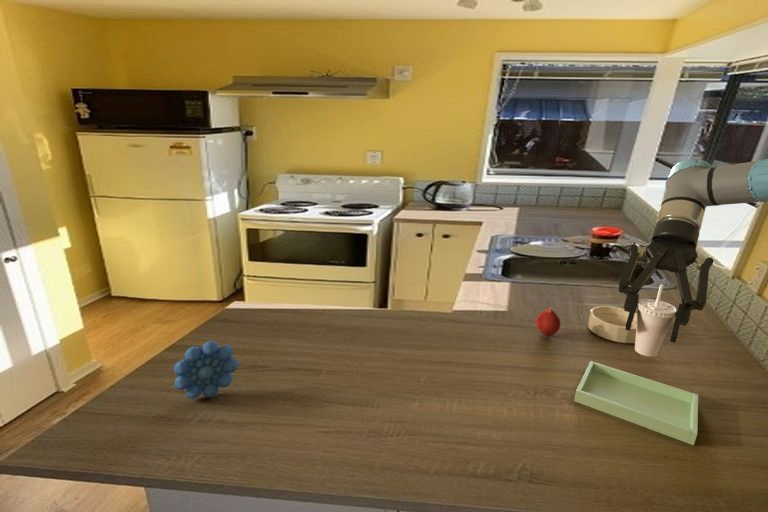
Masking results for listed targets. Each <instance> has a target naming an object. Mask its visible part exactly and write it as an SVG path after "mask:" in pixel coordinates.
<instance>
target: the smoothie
mask: <svg viewBox="0 0 768 512" xmlns="http://www.w3.org/2000/svg"><path fill="white" fill-rule="evenodd" d="M664 287H665V285H664V284H663V283H659V288H658V291H657V294H656V295H657V296H656V298H655V299H652V298H642V299H638V303H637V306H636V310H637V327H636V339H635V343H634V351H635V352H636V353H638V354H639V355H641V356H644V357H648V358H655V357H657V356H658V353H659V351H660V349H661V346H662V345H663V342H664V340H665V337H666V335H667V333H668V331H669V328H670V326H671V323H672V322H673V319H674V318H676V314H677V309H678V308H677V307H676V306H675V305H672V304H671V303H668V302H666V301H663V300H661V297H662V293H663V289H664Z"/></svg>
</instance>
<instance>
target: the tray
mask: <svg viewBox="0 0 768 512" xmlns="http://www.w3.org/2000/svg"><path fill="white" fill-rule="evenodd" d="M574 394H575V395H574V399H573V402H575V403H578V404H581V405H583V406H586V407H588V408H591V409H593V410H597V411H600V412H601V413H605V414H608V415H610V416H613V417H616V418H618V419H622V420H623V421H627V422H630V423H632V424H635V425H637V426H640V427H643V428H646V429H648V430H651V431H654V432H656V433H658V434H662V435H664V436H667V437H669V438H673V439H676V440H678V441H681V442H683V443H686V444H689V445H691V446H695V444H696V440H697V437H698V430H699V429H698V428H699V427H698V426H699V394H698V393H693V392H691V391H688V390H685V389H681V388H678V387H675V386H672V385H669V384H665V383H662V382H660V381H656V380H654V379H649V378H646V377H644V376H640V375H636V374H633V373H631V372H627V371H624V370H621V369H618V368H615V367H611V366H609V365H604V364H602V363H599V362H595V361H592V360H590V361H589V362H588V365H587V367H586V370H585V371H584V374H583V376H582V378H581V380H580V382H579V384H578V385H577V387H576V390H575V393H574Z"/></svg>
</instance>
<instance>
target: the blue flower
mask: <svg viewBox="0 0 768 512" xmlns="http://www.w3.org/2000/svg"><path fill="white" fill-rule="evenodd" d="M233 353H234V349H233V347H232V346H231V345H228V344H225V345H221V346H219V343H218V342H217V341H216V340H208V341H206V342H205V343H204V344H203V345H202V347H201V348H200V347H199V346H198V345H194V346H191V347H189V348H188V349H186V351H185V353H184V358H183V359H181V360H178V361H177V362H176V363H175V364H174V366H173V372H174V374H175V375H176V376H177V377H176V378H175V380H174V388H175V389H176V390H179V391H184V390H185V396H186V397H187V398H188V399H193V400H194V399H197V398H198V397H200V396H201V394H202V395H203V396H204V397H205V398H213V397H215V396H217V393H218V392H219V390H220V388H227V387H229V386H230V385H231V384H232V382H233V379H234V377H233V376H234V375H233V373H234V372H236V370H237V369H238V368H239V360H238V359H237V358H235V357H232V356H233Z"/></svg>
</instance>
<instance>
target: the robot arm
mask: <svg viewBox="0 0 768 512" xmlns="http://www.w3.org/2000/svg"><path fill="white" fill-rule="evenodd" d="M749 203H768V158H764V159H759V160H754V161H748V162H741V163H736V164H730V165H724V166H716V167H713V165H711V163H710V162H708V161H706V160H703V159H699V160H698V159H694V158H690V159H684V160H681V161H679V162H677V163H676V164H675V165H673V167H672V168H671V170H670V173H669V175H668V177H667V179H666V181H665V188H664V191H663V196H662V199H661V204H660V206H659V209H658V211H657V212H658V213H657V216H656V220H655V225H654V227H653V231H652V235H651V239H650V241H649V243H648V244H646V246H638V245H637V244H632V245H631V246H630V250H629V259H628V261H627V263H626V266H625V268H624V271H623V274H622V276H621V278H620V280H619V283H618V292H619V293H621V294H622V293H623V294H625V296H626V297H625V300H624V304H623V309H624V311H627V312H629V315H628V319H627V323H626V329H625V330H629V331H630V329H631V325H632V321H633V318H634V314H635V313H636V310H637V307H636V306H637V303H638V301H639V300H640V299H639V298H640V293H639V292H640V291H641V290H642V288H643V287H644V286H645V285H646V283H647V282H648V281H649V280H650V278H651V277H652V276H653V275H654V274H655V273H656V272H657V271H658V270H659V271H668V272H670V273H674V275H675V278H676V282H677V286H678V291H679V295H680V300H681V303H678V307H677V308H676V309H677V314H676V316H675V317H674V318H675V319H674V321H673V327H672V331H671V334H670V339H669V343H670V342H671V343H673V344H675V343H676V341H677V338H678V334H679V330H680V326H683V327H687V326H688V325H689V321H690V317H691V313H692V311H694V310H697V311H703V310H704V308H705V306H706V304H707V295H708V287H709V286H708V284H709V274H710V271H711V269H712V267H713V265H714V262H715V260H714V258H713V257H706V258H705V257H703V256H700V255H699V254H698V252H697V247H698V242H699V238H700V231H701V230H702V229H701V228H702V226H703V221H704V217H705V212H706V208H707V207H717V206H724V205H738V204H749ZM644 254H645V255H646V257H647V258H648V260H649V262H648V264H647V265H646V267H645V268H644V269H643V270H642V271H641V273H639V275H638V277H637V278H636V279H635V280H634V281H633V283H632V284H631V285H629V284H630V281H631V278H632V276H633V273H634V271H635V268H636V266H637V264H638V260H640V259H641V258H642V257H643V255H644ZM694 263H695V264H696V269H697V270H698V271H699V273H698V276H697V286H696V287H697V288H696V295H695V296H696V297H695V299H693V297H692V292H691V287H690V282H689V278H688V273H687V267H689V266H691V265H692V264H694Z"/></svg>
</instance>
